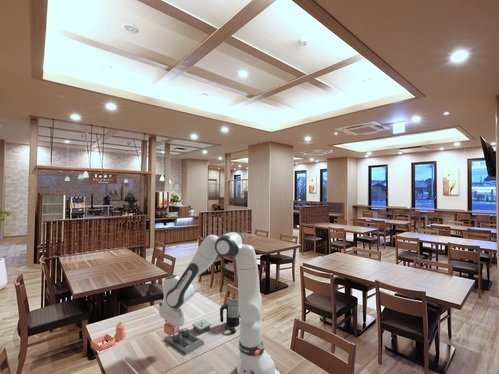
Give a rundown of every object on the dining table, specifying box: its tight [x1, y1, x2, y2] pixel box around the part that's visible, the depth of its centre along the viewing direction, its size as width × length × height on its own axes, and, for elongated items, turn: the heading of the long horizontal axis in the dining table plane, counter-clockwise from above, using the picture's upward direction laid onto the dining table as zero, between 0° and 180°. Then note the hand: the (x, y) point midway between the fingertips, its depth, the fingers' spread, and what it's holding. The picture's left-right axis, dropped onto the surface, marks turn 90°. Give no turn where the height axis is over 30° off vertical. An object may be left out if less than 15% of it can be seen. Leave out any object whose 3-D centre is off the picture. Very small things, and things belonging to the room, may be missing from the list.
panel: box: [163, 328, 205, 355], centre depth 155 cm, size 22×13×2 cm, turn 50°
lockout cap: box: [163, 322, 180, 336], centre depth 146 cm, size 6×6×5 cm
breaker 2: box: [181, 327, 190, 336], centre depth 160 cm, size 3×3×3 cm
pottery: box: [90, 321, 127, 352], centre depth 153 cm, size 18×10×10 cm, turn 146°
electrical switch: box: [191, 319, 212, 335], centre depth 169 cm, size 9×5×9 cm
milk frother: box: [219, 299, 241, 333], centre depth 172 cm, size 14×16×15 cm
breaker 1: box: [173, 332, 180, 341], centre depth 155 cm, size 3×3×3 cm
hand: (171, 328), depth 146 cm, fingers closed on lockout cap, 6 cm apart
